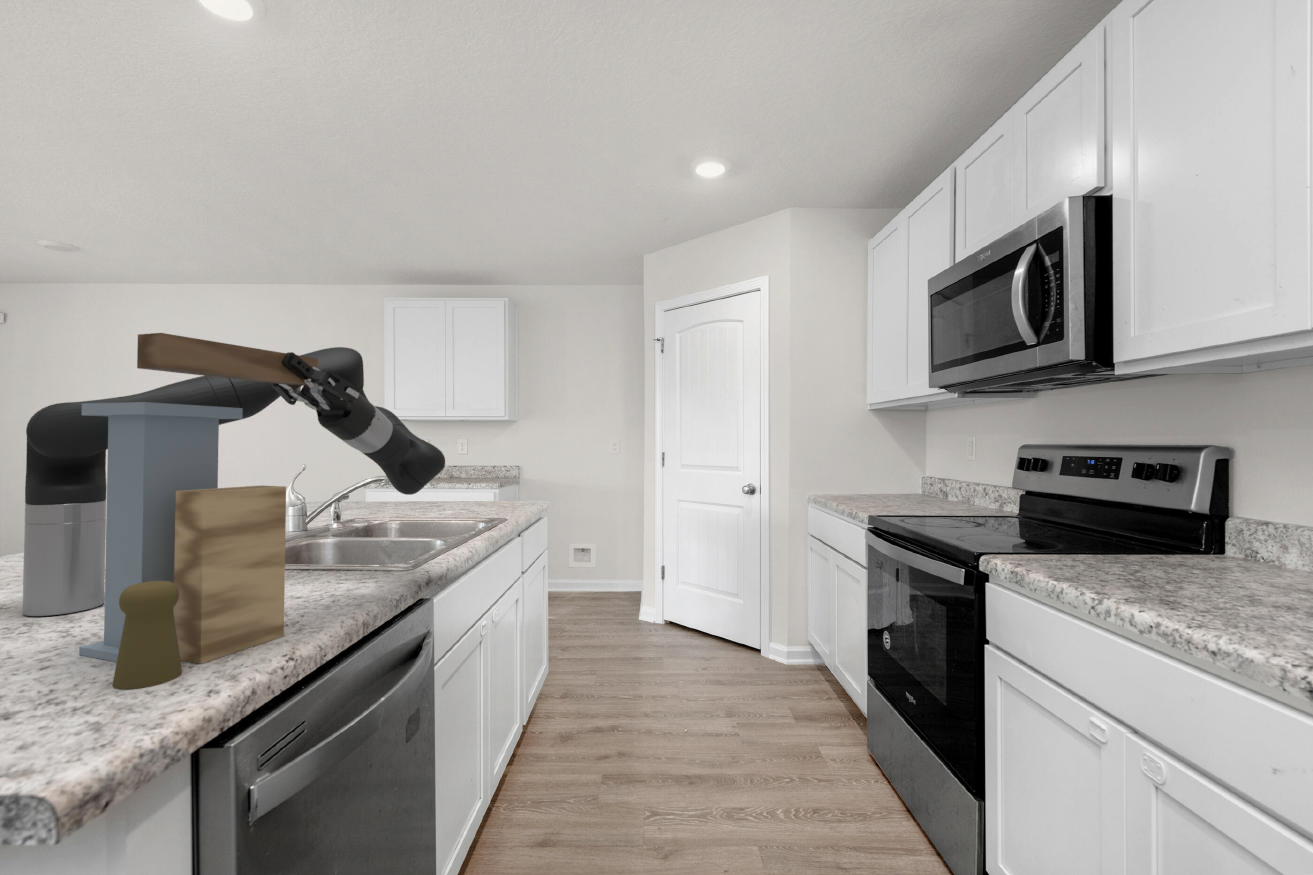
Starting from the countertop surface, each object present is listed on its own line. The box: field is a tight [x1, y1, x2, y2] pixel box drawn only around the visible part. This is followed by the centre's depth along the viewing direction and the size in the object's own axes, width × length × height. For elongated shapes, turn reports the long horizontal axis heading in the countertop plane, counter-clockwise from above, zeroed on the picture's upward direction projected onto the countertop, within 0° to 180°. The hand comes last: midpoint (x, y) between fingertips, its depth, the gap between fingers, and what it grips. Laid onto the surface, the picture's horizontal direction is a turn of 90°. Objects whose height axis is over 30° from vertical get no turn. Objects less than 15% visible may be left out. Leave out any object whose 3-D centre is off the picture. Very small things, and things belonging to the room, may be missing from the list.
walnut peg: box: [136, 332, 318, 387], centre depth 78 cm, size 4×21×4 cm, turn 162°
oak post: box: [174, 485, 287, 665], centre depth 77 cm, size 5×11×21 cm, turn 162°
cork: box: [112, 581, 183, 691], centre depth 67 cm, size 6×6×11 cm
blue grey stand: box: [78, 402, 243, 663], centre depth 78 cm, size 12×12×32 cm
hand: (274, 358), depth 83 cm, fingers closed on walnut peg, 4 cm apart
